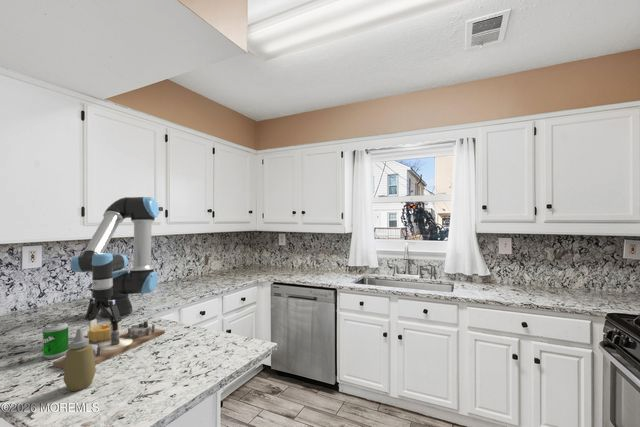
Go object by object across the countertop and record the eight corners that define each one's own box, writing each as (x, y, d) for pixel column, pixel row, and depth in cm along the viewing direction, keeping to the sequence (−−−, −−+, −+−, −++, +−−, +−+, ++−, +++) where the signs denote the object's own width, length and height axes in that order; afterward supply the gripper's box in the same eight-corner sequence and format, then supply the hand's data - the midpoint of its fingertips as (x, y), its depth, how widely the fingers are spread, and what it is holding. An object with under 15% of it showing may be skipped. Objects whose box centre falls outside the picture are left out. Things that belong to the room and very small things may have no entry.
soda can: (66, 349, 124) (65, 319, 125) (70, 354, 120) (70, 323, 120) (41, 356, 119) (40, 325, 119) (45, 361, 114) (44, 329, 114)
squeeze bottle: (102, 379, 101) (101, 324, 101) (83, 393, 93) (83, 333, 93) (76, 380, 101) (75, 324, 101) (56, 394, 92) (55, 334, 93)
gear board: (141, 330, 144) (141, 315, 144) (164, 333, 140) (164, 318, 140) (53, 366, 110) (52, 346, 110) (79, 372, 106) (79, 352, 106)
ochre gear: (107, 330, 144) (106, 322, 144) (123, 333, 141) (123, 324, 141) (82, 339, 134) (82, 330, 134) (99, 342, 130) (99, 333, 130)
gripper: (75, 288, 138) (75, 336, 138) (114, 291, 130) (114, 342, 130) (92, 284, 145) (93, 330, 145) (130, 287, 137) (131, 336, 137)
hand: (103, 336), depth 137 cm, fingers open, 12 cm apart
